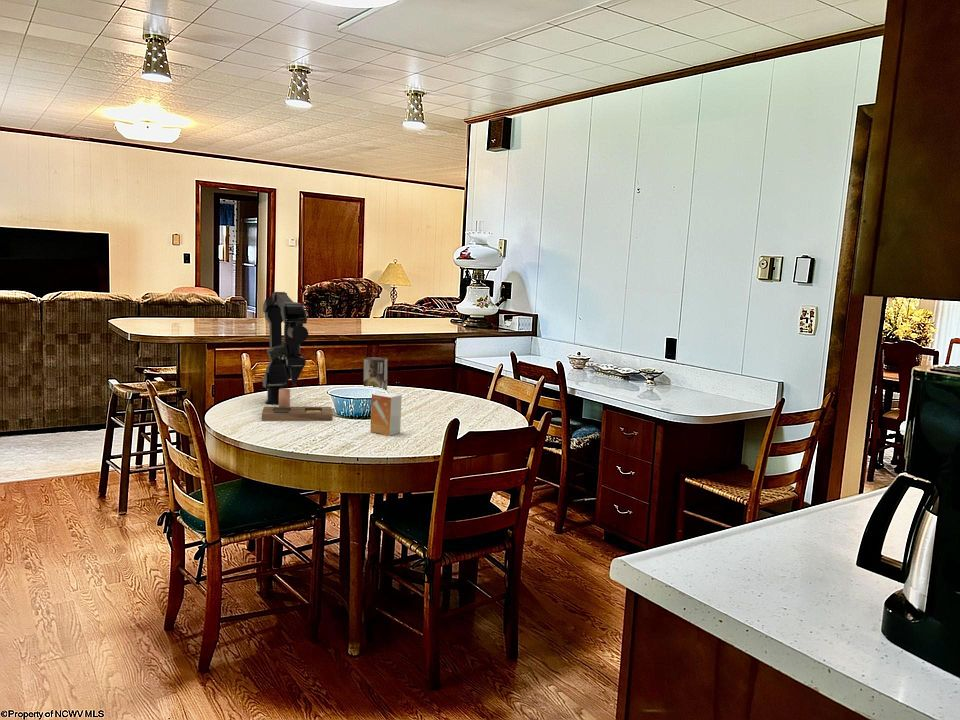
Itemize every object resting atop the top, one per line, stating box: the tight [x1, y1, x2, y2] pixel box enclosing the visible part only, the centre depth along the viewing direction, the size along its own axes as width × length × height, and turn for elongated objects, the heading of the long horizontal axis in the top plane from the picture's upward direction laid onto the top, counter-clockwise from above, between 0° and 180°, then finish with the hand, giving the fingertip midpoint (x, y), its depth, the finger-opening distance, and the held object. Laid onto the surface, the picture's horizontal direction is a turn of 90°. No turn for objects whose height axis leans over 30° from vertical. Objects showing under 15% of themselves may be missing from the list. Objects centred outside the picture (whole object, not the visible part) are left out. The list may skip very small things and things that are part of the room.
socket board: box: [261, 406, 333, 422], centre depth 264 cm, size 12×24×3 cm, turn 103°
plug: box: [278, 387, 291, 407], centre depth 273 cm, size 4×4×8 cm
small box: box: [370, 392, 403, 437], centre depth 247 cm, size 8×6×13 cm
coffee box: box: [363, 356, 389, 391], centre depth 310 cm, size 9×6×16 cm
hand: (291, 381), depth 266 cm, fingers open, 9 cm apart
